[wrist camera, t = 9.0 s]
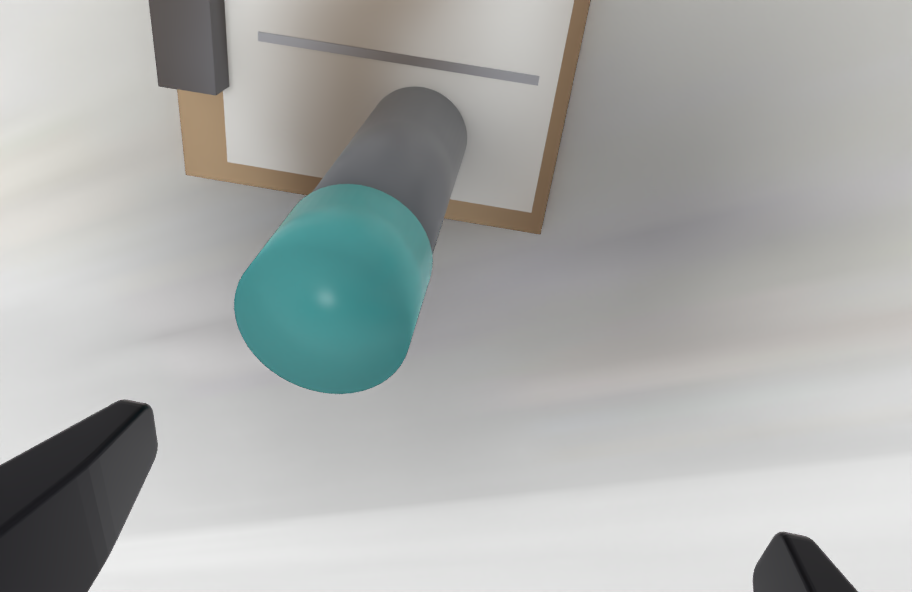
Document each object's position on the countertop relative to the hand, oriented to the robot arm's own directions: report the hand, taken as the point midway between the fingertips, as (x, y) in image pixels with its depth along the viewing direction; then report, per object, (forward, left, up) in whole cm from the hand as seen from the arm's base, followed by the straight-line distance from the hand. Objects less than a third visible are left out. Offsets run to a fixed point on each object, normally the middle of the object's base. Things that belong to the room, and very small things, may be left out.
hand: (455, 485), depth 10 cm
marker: (+3, -1, -12) cm, 12 cm away
